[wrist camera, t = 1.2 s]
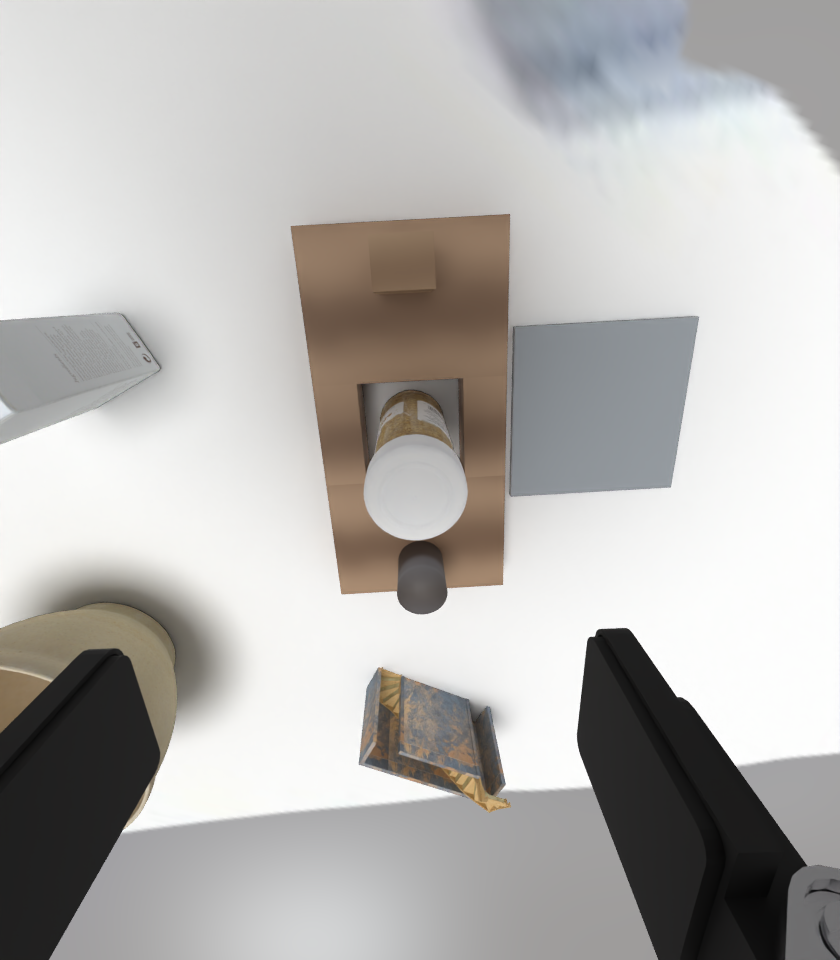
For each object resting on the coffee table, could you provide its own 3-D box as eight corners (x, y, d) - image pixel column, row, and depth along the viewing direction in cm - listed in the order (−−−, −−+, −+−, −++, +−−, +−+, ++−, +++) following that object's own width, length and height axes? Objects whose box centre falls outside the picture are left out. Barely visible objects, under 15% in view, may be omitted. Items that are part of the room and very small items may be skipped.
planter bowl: (253, 635, 38) (196, 755, 28) (157, 741, 42) (78, 879, 32) (72, 526, 34) (-72, 620, 24) (-14, 655, 38) (-167, 783, 28)
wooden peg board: (302, 234, 27) (262, 206, 20) (499, 223, 27) (534, 192, 20) (346, 571, 36) (330, 641, 28) (495, 563, 36) (518, 630, 28)
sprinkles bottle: (372, 398, 31) (347, 461, 18) (436, 381, 31) (455, 433, 18) (390, 459, 32) (380, 555, 20) (451, 443, 32) (479, 530, 20)
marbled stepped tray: (491, 699, 42) (514, 808, 33) (475, 721, 43) (494, 832, 34) (380, 660, 40) (373, 764, 31) (367, 684, 41) (355, 792, 32)
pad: (513, 326, 29) (515, 326, 29) (694, 316, 29) (698, 316, 29) (509, 494, 34) (510, 496, 33) (667, 484, 34) (670, 487, 33)
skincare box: (120, 309, 28) (-70, 309, 17) (166, 372, 30) (20, 411, 19) (47, 356, 29) (-180, 387, 18) (95, 415, 31) (-86, 478, 19)
